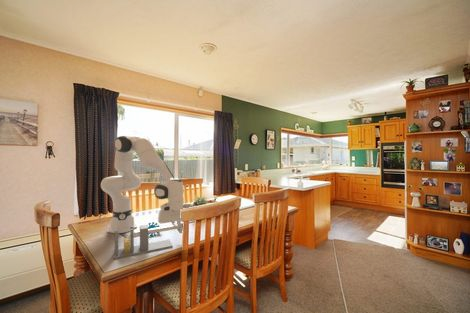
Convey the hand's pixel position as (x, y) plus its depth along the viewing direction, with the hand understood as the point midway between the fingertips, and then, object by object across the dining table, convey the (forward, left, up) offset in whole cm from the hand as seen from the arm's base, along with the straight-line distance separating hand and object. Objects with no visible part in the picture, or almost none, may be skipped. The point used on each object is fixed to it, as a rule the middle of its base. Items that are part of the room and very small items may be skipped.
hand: (176, 228), depth 126 cm
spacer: (-3, -26, -9) cm, 28 cm away
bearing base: (-3, -18, -10) cm, 20 cm away
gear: (-24, -10, -11) cm, 28 cm away
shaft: (-3, -9, -3) cm, 10 cm away
